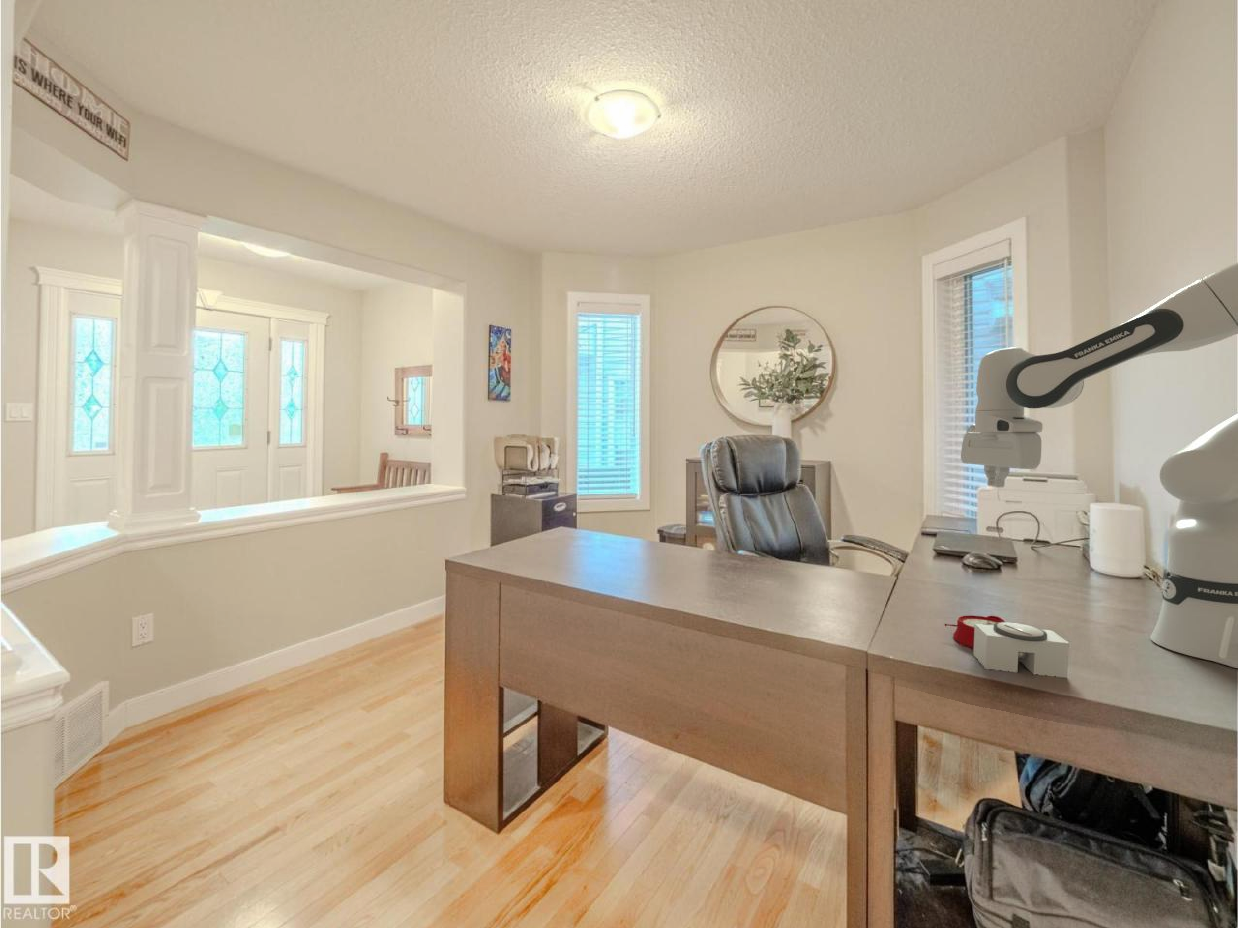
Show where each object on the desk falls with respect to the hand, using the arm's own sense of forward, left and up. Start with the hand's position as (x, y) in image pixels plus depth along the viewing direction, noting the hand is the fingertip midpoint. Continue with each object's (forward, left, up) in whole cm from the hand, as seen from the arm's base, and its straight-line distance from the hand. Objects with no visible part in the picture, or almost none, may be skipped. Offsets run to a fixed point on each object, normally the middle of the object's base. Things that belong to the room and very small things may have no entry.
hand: (995, 486), depth 120 cm
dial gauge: (+5, +28, -29) cm, 41 cm away
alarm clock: (+5, +17, -30) cm, 35 cm away
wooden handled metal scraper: (+5, +27, -28) cm, 39 cm away
